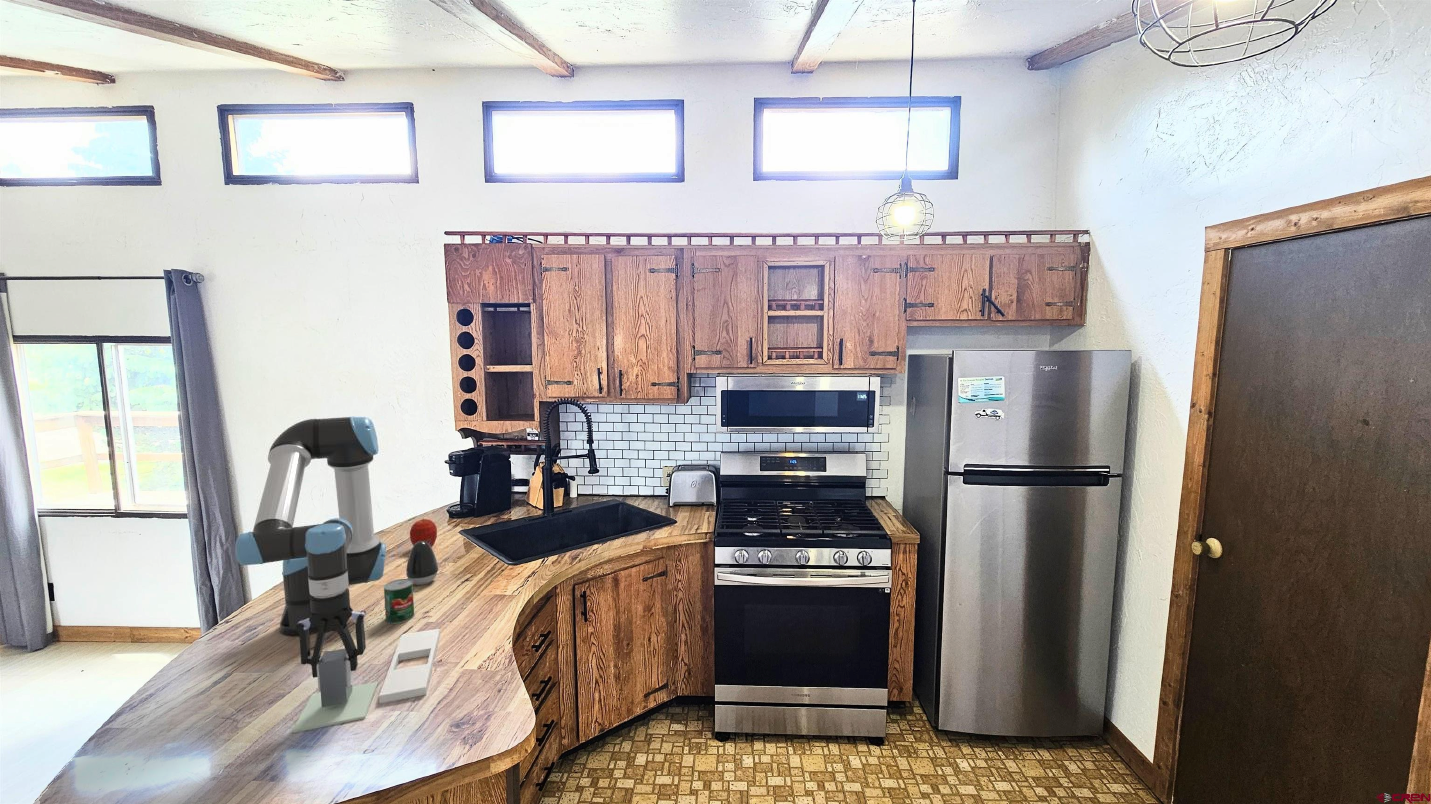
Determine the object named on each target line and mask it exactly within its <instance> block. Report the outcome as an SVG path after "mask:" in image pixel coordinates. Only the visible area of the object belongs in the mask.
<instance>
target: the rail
mask: <svg viewBox="0 0 1431 804" xmlns="http://www.w3.org/2000/svg"><path fill="white" fill-rule="evenodd" d="M440 638H441V628H434V629H430V630H428V629H427V630H422V631H415V632H410V633H404V634H401V635H400V637H399V640H398V644H397V647H396V648H395V652H394V654H393V657H392V658H391V659H392V660H391V662H390V666H389V668H388V671H387V673H386V675H385V676H386V677H385V679H384V681H383V685H382V687H381V690H380V693H379V694H378V699H379V704H384V703H389V702H394V701H400V700H404V699H405V700H406V699H410V698H414V697H415V698H416V697H421V696H425V695H427V694H428V693H427V692H428V689H429V684H430V680H431V676H432V671H433V668H434V667H433V666H434V663H435V658H436V654H437V650H438V645H439V641H440ZM422 657H428V659H427V663H424V664H417V665H411V666H406V667H401V668H398V664H399V662H400V661H404V660H405V661H406V660H410V659H411V660H412V659H415V658H416V659H417V658H422Z"/></svg>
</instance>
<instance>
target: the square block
mask: <svg viewBox="0 0 1431 804" xmlns="http://www.w3.org/2000/svg"><path fill="white" fill-rule="evenodd" d="M347 657H348V654H347V652H346V649H345V647H344V648H340V649H339V648H337V649H332V650H326V651H324V653H323V654H322V656H321V657H320V659H319V660H320V661H319V663H318V665H319V678H320V691H321V704H322V708H323V707H328V706H333V705H339V704H344V703H347V702H348V700H349V697H350V695H351V693H352V691H353V690H352V686H353V684H352V685H351V686H350V687H347V674H346V659H347Z"/></svg>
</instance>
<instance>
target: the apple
mask: <svg viewBox="0 0 1431 804" xmlns="http://www.w3.org/2000/svg"><path fill="white" fill-rule="evenodd" d="M437 538H438V528H437V525H436V523H435V522H434V521H433V520H431V519H427V518H422V519H420V520H417V521H415V522H414V523H413V524H412V526H411V527H410V530H409V539H410V543H411V544H412V547H413V546H414V544H415V543H417V542H419V541H425V542H426V541H427V540H428V539H431V541H430V543H429V545H430V546H431V548H433V546H434V545H435V543H436V540H437Z"/></svg>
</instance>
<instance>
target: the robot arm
mask: <svg viewBox="0 0 1431 804" xmlns="http://www.w3.org/2000/svg"><path fill="white" fill-rule="evenodd" d="M378 453H379V444H378V437H377V431H376V428H375V425H374V423H373V421H372V419H370V418H369V417H365V416H348V417H347V416H346V417H331V418H329V417H328V418H309V419H304V420H302V421H299V422H296V423H294V424H293V425H291V426H289V427H288V428H287V429H285V430H283V432H282V433H281V434H280V435H278V436H277V438H276V439H275V440H274V442H273V443H272V444H271V446H270V448H269V450H268V455H267V461H268V463H269V464H270V465H269V466H270V467H269V469H268V473H267V477H266V481H265V483H264V488H263V492H262V495H261V498H260V502H259V507H258V510H257V514H256V518H255V521H254V525H253V529H252V531H247V532H243V533H241V534H239V536H238V537H237V538H236V542H235V548H234V549H235V552H234V553H235V558H236V560H237V562H238V563H239V564H240V565H242V566H251V565H264V564H269V563H274V562H276V563H277V562H282V572H281V575H282V580H283V581H282V582H283V589H284V590H283V592H284V593H283V594H284V599H285V600H284V601H285V603H284V604H285V605H284V609H283V611H282V616H281V619H280V622H279V631H280V634H282V635H284V636H287V637H298V636H299V648H300V650H299V652H300V663H301V665H304V666H305V665H310V666H311V677H313V678H317V687H318V692H321V691H320V678H319V665H318V663H319V661H320V659H321V657H322V656H321V655H322V651H323V646H324V643H325V639H326V634H327V633H330V632H337V635H338V636H339V637H340V639H341V643H342V644H343V647H344V648H345V649H346V652H347V654H348V657H347V659H346V674H347V687H350V686H351V685H352V686H353V683H354V682H355V677H354V676H355V675H354V674H355V673H354V672H355V671H356V670H357V669H358V666H359V665H358V664H359V661H358V657H359V656H362V655H363V654H364V652H365V650H366V648H367V645H366V633H365V621H364V620H365V617H366V610H361V611H354V610H353V608H352V607H351V600H350V599H351V598H350V589H349V586H354V585H355V586H356V585H359V584H368V583H371V582H376V581H379V580H381V579H382V578H383V576H384V572H385V571H384V570H385V564H384V563H385V562H386V555H385V552H386V551H387V549H386V548H387V543H386V542H383V541H382V542H381V537H380V536H379V535H377V534H375V529H374V518H373V507H372V505H373V504H372V495H371V494H372V493H371V485H370V473H369V465H370V464H371V463H372V462H373V461H374V456H376V455H377V454H378ZM315 459H326V461H327V462H326V463H327V464H326V465H327V466H328V467H330V468H331V469H332V470H334V471H333V472H334V480H335V488H336V489H335V490H336V499H337V507H338V508H337V509H338V517H335V518H331V519H328V520H326V521H324V522H323V523H318V524H310V525H304V526H303V525H302V526H301V525H300V526H294V523H295V518H296V513H297V507H298V503H299V499H300V493H301V488H302V484H303V480H304V474H305V468H307V467H309V465H310V463H311V462H312V461H311V460H315ZM386 553H387V552H386ZM351 618H352V621H353V622H354V624H355V627H354V628H355V629H354V630H355V638H356V645H355V641H354V639H353V637H352V635H351V634H352V633H351V632H350V629H349V625H348V622H349V620H350V619H351ZM314 633H316V640H315V643H314V647H313V651H312V654H311V638H310V637H311V636H310V635H312V634H314Z"/></svg>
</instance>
